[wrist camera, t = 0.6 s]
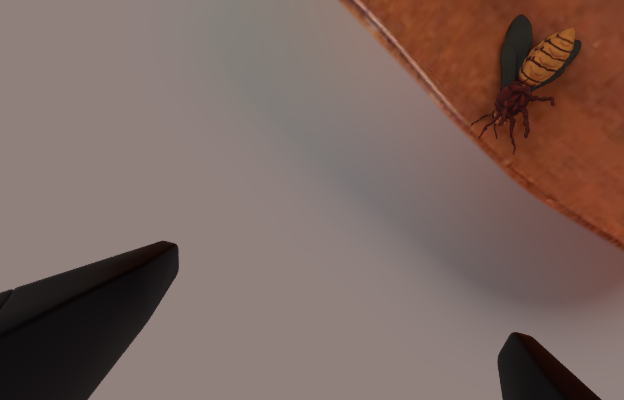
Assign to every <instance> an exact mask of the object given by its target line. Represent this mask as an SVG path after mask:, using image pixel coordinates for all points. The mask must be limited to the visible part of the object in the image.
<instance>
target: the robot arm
mask: <svg viewBox="0 0 624 400" xmlns="http://www.w3.org/2000/svg"><path fill="white" fill-rule="evenodd" d="M178 258H179V257H178V246H177V245H176V244H175V243H171V242H167V241H160V242H157V243H154V244H151V245H148V246H145V247H141V248H139V249H135V250H132V251H129V252H126V253H123V254H120V255H116V256H114V257H110V258H107V259H104V260H101V261H98V262H95V263H92V264H88V265H85V266H83V267H79V268H76V269H73V270H70V271H67V272H64V273H61V274H57V275H54V276H51V277H48V278H45V279H42V280H39V281H36V282H33V283H30V284H26V285H23V286H20V287H17V288H15V289H14V290H12V289H11V290H8V291H5V292H1V293H0V400H88V398H89V397H90V396H91V394H92V393H93V392H94V390H95V389H96V388H97V387H98V385H99V384H100V383H101V381H102V380H103V379H104V378H105V376H106V375H107V374H108V372H109V371H110V370H111V369H112V367H113V366H114V365H115V363H116V362H117V360H119V358H120V357H121V356H122V354H123V353H124V352H125V351H126V349H127V348H128V347H129V345H130V344H131V343H132V341H133V340H134V339H135V337H136V336H137V335H138V334H139V332H140V331H141V330H142V329H143V327H144V326H145V325H146V323H147V322H148V320H149V319H150V317H151V316H152V314H153V313H154V311H155V309H156V308H157V306H158V305H159V303H160V301H161V300H162V298H163V297H164V295H165V293H166V292H167V290H168V288H169V287H170V285H171V284H172V282H173V280H174V279H175V277H176V275H177V273H178V269H179V259H178ZM498 370H499V377H500V384H501V390H502V398H503V400H601V399H600V398H599V397H598V396H597V395H596V394H594V393H593V392H592V391H591V390H590V389H589V388H588V387H587V386H586V385H585V384H584V383H582V382H581V381H580V380H579V379H578V378H577V377H576V376H575V375H574V374H573V373H571V372H570V371H569V370H568V369H567V368H566V367H565V366H564V365H563V364H561V363H560V362H559V361H558V360H557V359H556V358H555V357H554V356H553V355H552V354H550V353H549V352H548V351H547V350H546V349H545V348H544V347H543V346H542V345H540V344H539V343H538V342H537V341H536V340H535V339H534V338H533V337H531V336H529V335H525V334H521V333H517V332H513V333H511V334H510V336H509V337H508V339H507V341H506V342H505V344H504V346H503V348H502V349H501V351H500V353H499V355H498Z"/></svg>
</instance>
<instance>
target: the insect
mask: <svg viewBox="0 0 624 400" xmlns="http://www.w3.org/2000/svg"><path fill="white" fill-rule="evenodd" d="M531 44H532V29H531V24H530V22H529V21H528V19H527V18H526V17H525V16H524V15H519V16H518V17H516V18H515V20H514V21H513V22H512V24H511V25H510V28H509V30H508V33H507V35H506V40H505V43H504V45H503V47H502V51H501V69H502V72H501V89H500V93H499V94H498V96H497V99H496V103H495V108H496V109H495V110H494V111H493V112H492V114H489V115H486V116H492V117H493V119H494V120H493V121H492V122H491V123H489V124H488V125H486V126H485V128H484V129H483V131H482V133H481V135H480V136H479V138H480V137H481V136H482V134H483V132H484V131H485V130H487V127H488V126H490V125H492V124H493V123H494V122H495V125H496V124H497V125H499V126H502V125H503V124H504V123H506V122H507V121H508V120H509V118H510V136H511V137H510V138H511V139H512V144H513V146H514V151H513V155H514V152H515V143H514V142H515V141H514V138H513V137H512V133H513V128H514V126H515V122H516V119H515V118H514V117H512V116H515V115H517V114H518V113H519V112H522V113H523V117H524V120H523V125H524V126H526V127H525V134H524V137H525V138H527V137H528V134H529V131H530V128H529V126H528V125H529V122H528V110H527V109H526V108H525V107H526V106H527V104H528V102H529V101H532V102H533V101H536V100H539V101H547V100H549V101H550V100H551V105H552V106H554V105H555V103H554V98H553V97H549V98H547V97H542V98H539V97H538V96H533V97H531V96H532V93H531V92H532V91H533V90H535V89H537V88H539V87H541V86H544V85H546V84H548V83H549V82H551V81H553V80H555V79H556V78H557V77H559V76H560V75H561V74H562V73H563V72H564V70H565V67H566V66H567V65H569V64H570V63H571V61H572V60H573V59H574V58H575V57H576V55H577V54H578V52H579V50H580V48H581V42H580V41H579V40H575V30H574V27H573V28H568V29H565V30H561V31H559V32H556V33H554V34H552V35H550V36H549V37H547V38H545V39H544V40H543V41H541V42H540V43H539V44H538V45H537V46H536V47H534V48H533V49H532V50H531V52H530V53H529V55H528V56H527V54H528V52H529V49H530V47H531ZM526 56H527V57H526ZM525 58H526V59H525ZM524 60H525V61H524ZM520 68H521V69H520ZM519 70H520V71H519ZM518 72H519V81H515V79H516V77H517V74H518ZM514 81H515V82H514ZM486 116H483V117H482V118H484V117H486ZM482 118H480V119H479V120H481V119H482ZM479 120H477V121H479ZM477 121H476V122H477ZM474 123H475V122H474ZM474 123H472V124H471V126H472V125H473V124H474ZM495 125H494V131H495ZM471 126H470V127H471ZM495 134H496V131H495ZM479 138H478V139H479ZM496 139H497V134H496Z"/></svg>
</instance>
